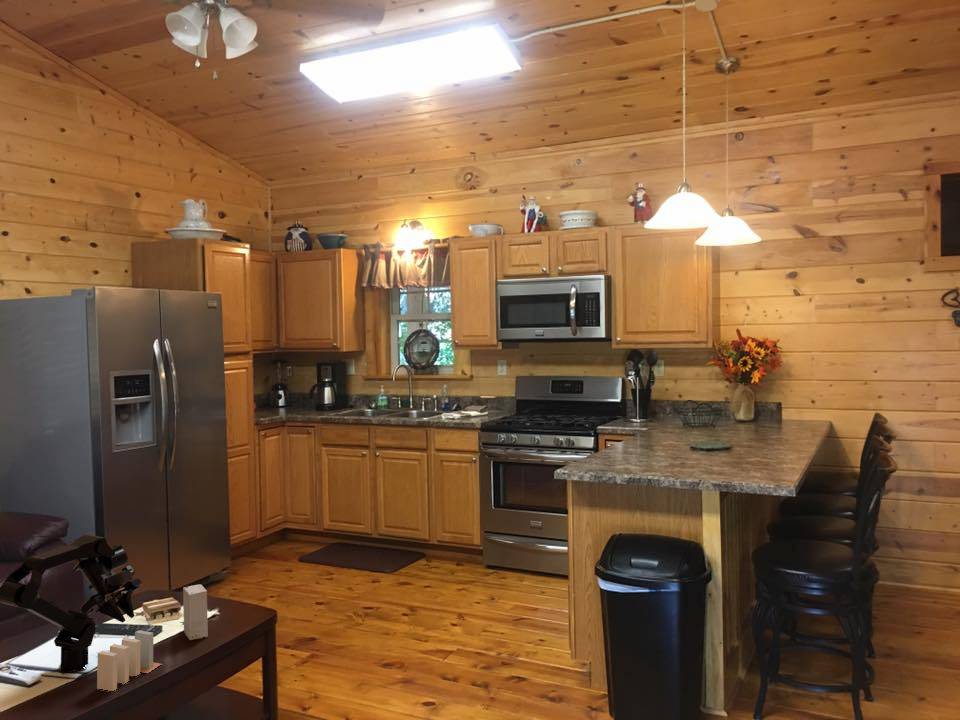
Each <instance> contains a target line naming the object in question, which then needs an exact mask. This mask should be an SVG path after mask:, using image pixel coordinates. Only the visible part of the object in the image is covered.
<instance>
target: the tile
mask: <svg viewBox="0 0 960 720" xmlns="http://www.w3.org/2000/svg"><path fill="white" fill-rule="evenodd" d="M160 665H162V666H163V663H159V662H154V661H153V667H152V668H150V669H146V668H141V667H140V672H142V673H149V672H151V671H152V670H154V669H155V668H157V667H158V666H160ZM160 667H161V666H160ZM157 669H158V668H157ZM154 671H155V670H154ZM142 673H141V674H142ZM151 673H152V672H151Z"/></svg>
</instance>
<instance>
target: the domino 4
mask: <svg viewBox="0 0 960 720" xmlns="http://www.w3.org/2000/svg"><path fill="white" fill-rule="evenodd" d="M134 639H137V640H141V649H140V667H141V668H146V669H150V668H152V667H153V662H154V632H152V631H151V632H150V631H146V630H137V631H135V632H134Z"/></svg>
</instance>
